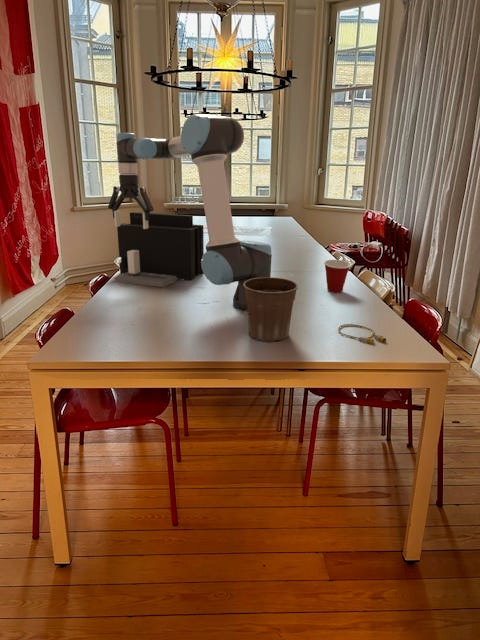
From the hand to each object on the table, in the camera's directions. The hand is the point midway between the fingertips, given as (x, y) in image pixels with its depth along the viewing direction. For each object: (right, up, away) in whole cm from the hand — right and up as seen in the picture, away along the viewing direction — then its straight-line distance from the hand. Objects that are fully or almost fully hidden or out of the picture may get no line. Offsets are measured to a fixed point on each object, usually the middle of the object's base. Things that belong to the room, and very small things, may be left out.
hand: (131, 227), depth 193 cm
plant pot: (+54, -43, -52) cm, 86 cm away
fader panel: (+5, -22, +5) cm, 23 cm away
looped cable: (+82, -44, -50) cm, 106 cm away
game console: (+12, -15, +26) cm, 32 cm away
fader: (0, -19, +7) cm, 20 cm away
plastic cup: (+84, -27, -5) cm, 88 cm away
